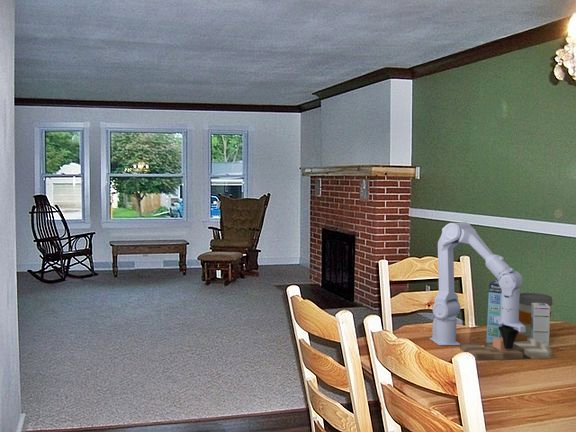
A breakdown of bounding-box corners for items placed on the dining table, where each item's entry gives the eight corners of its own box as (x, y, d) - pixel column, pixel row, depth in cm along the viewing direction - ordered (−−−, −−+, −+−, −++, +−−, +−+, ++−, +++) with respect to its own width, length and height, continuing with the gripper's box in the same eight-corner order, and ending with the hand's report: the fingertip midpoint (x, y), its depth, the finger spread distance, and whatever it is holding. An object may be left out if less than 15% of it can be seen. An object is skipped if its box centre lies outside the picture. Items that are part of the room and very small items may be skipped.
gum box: (498, 334, 243) (500, 275, 241) (511, 336, 240) (514, 276, 239) (485, 345, 226) (487, 282, 225) (500, 348, 224) (502, 283, 222)
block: (492, 346, 218) (493, 337, 218) (504, 345, 219) (504, 337, 219) (500, 350, 213) (500, 341, 213) (512, 349, 215) (512, 340, 214)
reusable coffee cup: (550, 332, 248) (551, 294, 247) (552, 340, 236) (553, 300, 235) (515, 329, 252) (517, 291, 251) (516, 336, 240) (517, 297, 239)
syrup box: (549, 346, 227) (551, 306, 226) (532, 345, 228) (533, 305, 227) (546, 342, 232) (548, 303, 231) (529, 341, 233) (530, 302, 233)
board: (459, 348, 222) (460, 338, 221) (529, 347, 225) (529, 337, 225) (477, 360, 208) (477, 349, 208) (551, 358, 211) (551, 348, 211)
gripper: (486, 304, 218) (485, 343, 219) (512, 313, 204) (511, 355, 205) (504, 303, 220) (503, 342, 221) (531, 312, 206) (530, 353, 207)
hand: (508, 348), depth 213 cm, fingers closed
